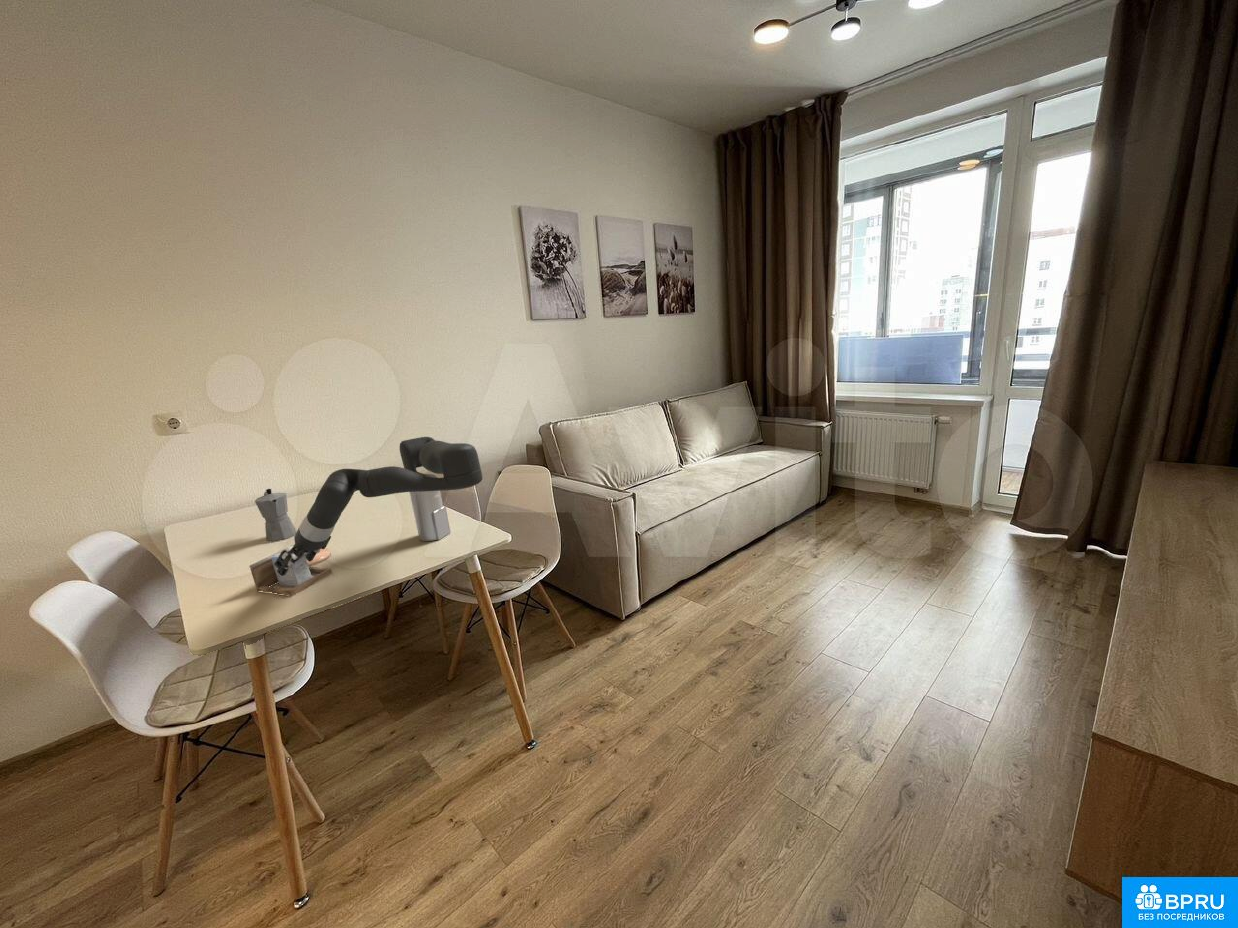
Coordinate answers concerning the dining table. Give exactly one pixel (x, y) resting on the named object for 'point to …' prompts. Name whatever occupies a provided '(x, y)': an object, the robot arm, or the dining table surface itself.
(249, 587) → the dining table surface
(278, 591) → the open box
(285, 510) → the coffeepot
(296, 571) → the medicine box
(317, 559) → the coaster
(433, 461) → the robot arm
